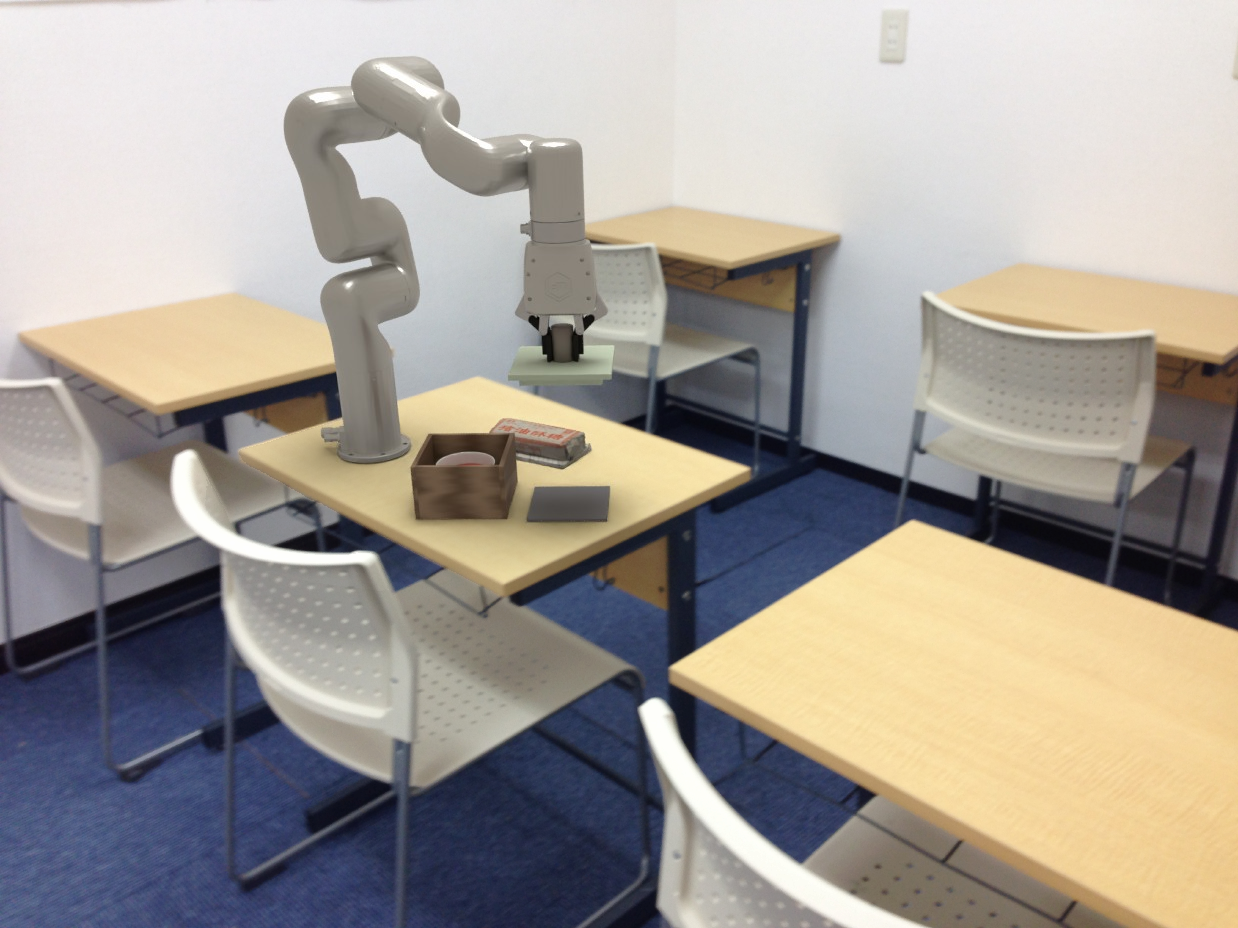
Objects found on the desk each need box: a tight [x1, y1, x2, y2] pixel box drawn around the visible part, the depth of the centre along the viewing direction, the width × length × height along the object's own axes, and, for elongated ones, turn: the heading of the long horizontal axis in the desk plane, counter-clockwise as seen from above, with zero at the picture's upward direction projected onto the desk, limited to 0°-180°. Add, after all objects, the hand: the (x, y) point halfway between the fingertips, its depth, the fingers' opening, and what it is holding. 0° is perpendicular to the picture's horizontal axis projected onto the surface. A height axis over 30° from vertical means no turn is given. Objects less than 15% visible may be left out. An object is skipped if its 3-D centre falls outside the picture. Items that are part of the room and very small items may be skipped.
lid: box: [507, 322, 616, 387], centre depth 151 cm, size 14×14×7 cm
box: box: [409, 432, 519, 520], centre depth 161 cm, size 14×14×8 cm
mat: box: [526, 485, 611, 523], centre depth 160 cm, size 12×12×1 cm
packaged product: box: [488, 417, 593, 470], centre depth 181 cm, size 18×5×10 cm
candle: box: [436, 452, 495, 465], centre depth 162 cm, size 9×9×6 cm
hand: (563, 358), depth 151 cm, fingers closed on lid, 3 cm apart
